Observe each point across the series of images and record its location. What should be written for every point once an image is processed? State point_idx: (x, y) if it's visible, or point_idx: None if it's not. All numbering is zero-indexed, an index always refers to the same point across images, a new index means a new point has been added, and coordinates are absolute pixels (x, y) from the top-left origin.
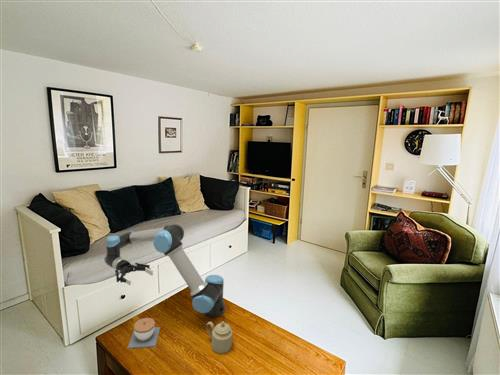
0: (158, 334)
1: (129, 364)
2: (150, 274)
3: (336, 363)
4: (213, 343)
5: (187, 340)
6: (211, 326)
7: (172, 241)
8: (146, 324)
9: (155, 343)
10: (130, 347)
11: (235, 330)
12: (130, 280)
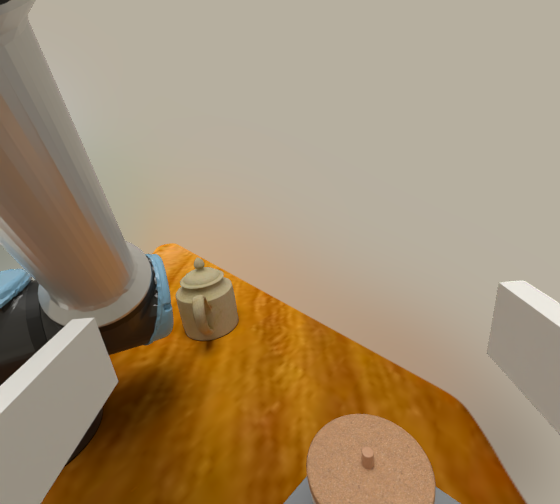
0: (303, 482)
1: (465, 423)
2: (99, 398)
3: (163, 246)
4: (233, 306)
5: (249, 382)
6: (205, 297)
7: None
8: (359, 450)
9: None
10: (456, 501)
11: None
12: (500, 284)
